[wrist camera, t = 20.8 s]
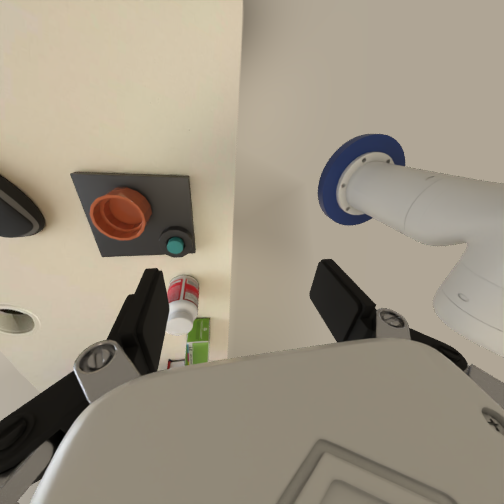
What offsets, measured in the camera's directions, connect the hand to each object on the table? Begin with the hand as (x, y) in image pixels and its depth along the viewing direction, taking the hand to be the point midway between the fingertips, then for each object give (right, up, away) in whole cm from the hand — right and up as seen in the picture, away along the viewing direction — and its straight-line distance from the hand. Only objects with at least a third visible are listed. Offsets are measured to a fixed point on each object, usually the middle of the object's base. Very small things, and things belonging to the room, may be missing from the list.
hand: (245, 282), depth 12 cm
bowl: (-19, +9, +20) cm, 29 cm away
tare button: (-13, +3, +23) cm, 27 cm away
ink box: (-14, -19, +40) cm, 47 cm away
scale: (-18, +8, +22) cm, 30 cm away
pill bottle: (-14, -5, +32) cm, 35 cm away
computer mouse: (-37, +10, +17) cm, 42 cm away
